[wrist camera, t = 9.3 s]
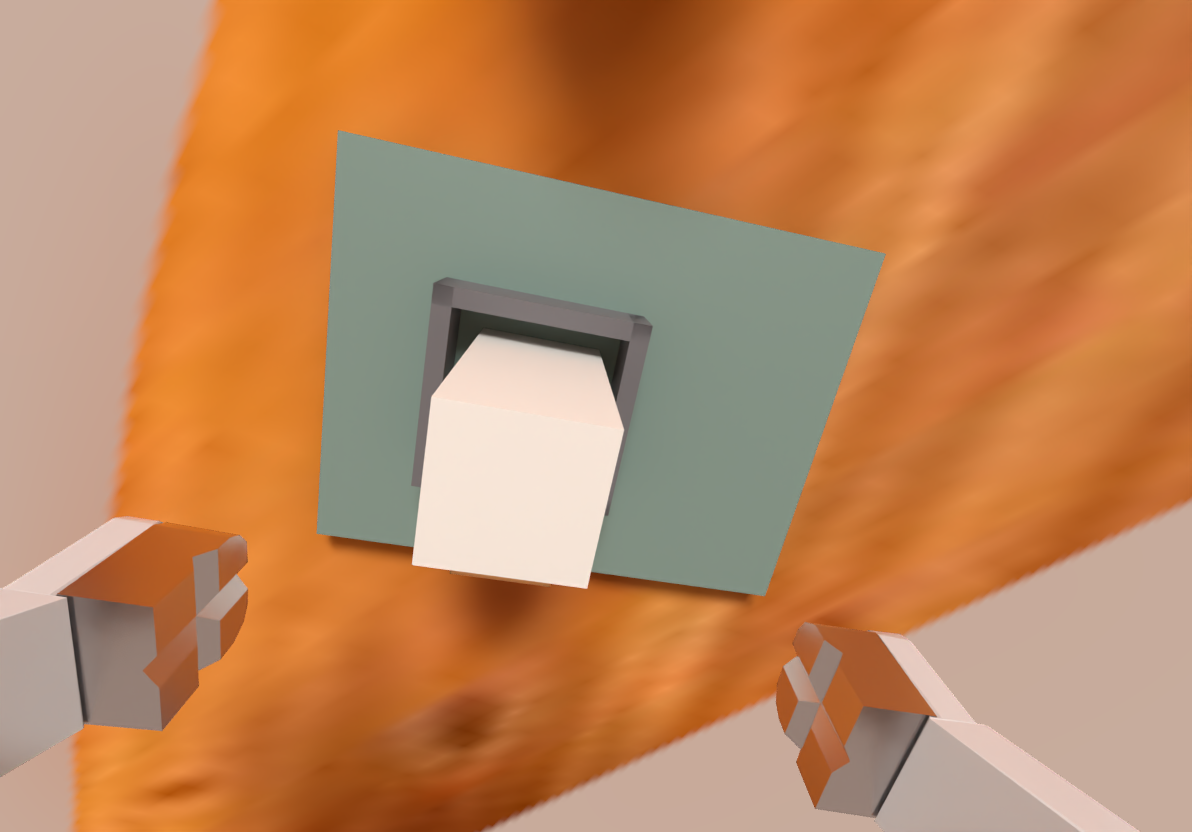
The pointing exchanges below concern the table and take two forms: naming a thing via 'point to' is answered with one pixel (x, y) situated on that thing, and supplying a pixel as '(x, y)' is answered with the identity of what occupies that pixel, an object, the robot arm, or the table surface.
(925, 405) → the table surface
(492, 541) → the plug
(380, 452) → the board
